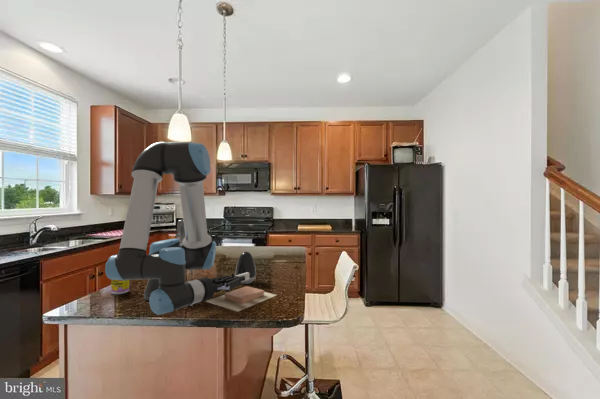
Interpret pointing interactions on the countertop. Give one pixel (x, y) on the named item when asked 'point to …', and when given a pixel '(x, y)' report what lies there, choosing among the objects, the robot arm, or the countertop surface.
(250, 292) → the tile
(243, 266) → the black glossy egg shape
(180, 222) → the juicer
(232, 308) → the cloth
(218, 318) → the countertop surface
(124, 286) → the supplement bottle
